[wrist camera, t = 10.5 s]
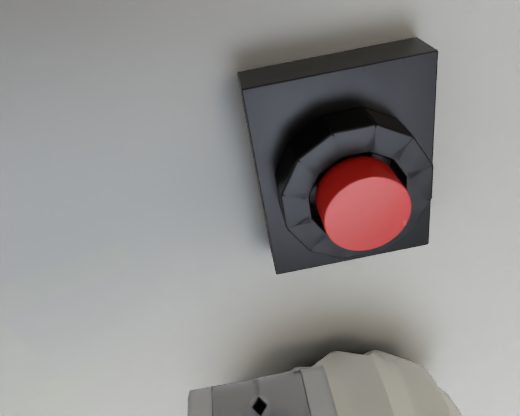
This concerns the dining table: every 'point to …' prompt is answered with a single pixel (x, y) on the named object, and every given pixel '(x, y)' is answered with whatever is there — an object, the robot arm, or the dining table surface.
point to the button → (362, 203)
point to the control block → (340, 139)
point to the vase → (383, 386)
